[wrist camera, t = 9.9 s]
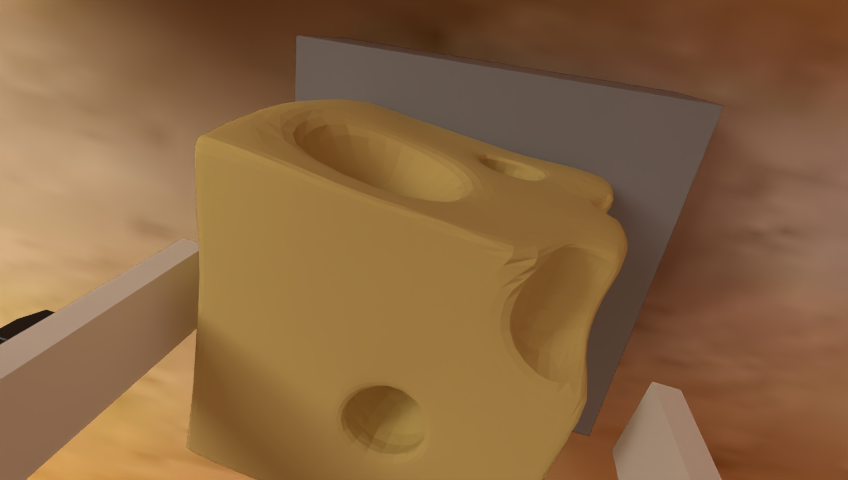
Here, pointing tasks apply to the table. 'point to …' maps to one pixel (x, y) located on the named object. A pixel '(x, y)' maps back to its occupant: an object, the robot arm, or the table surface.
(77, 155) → the table surface
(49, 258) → the table surface
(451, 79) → the charcoal block
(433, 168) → the cheese
